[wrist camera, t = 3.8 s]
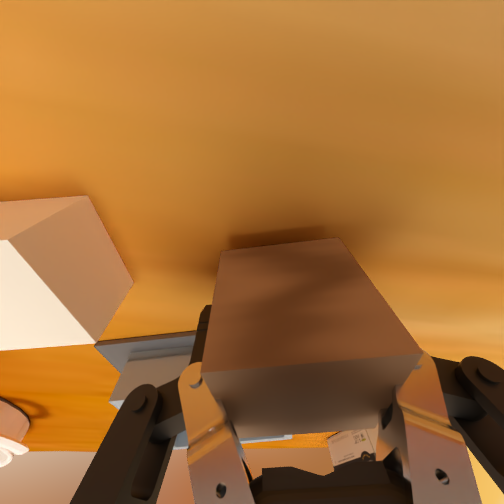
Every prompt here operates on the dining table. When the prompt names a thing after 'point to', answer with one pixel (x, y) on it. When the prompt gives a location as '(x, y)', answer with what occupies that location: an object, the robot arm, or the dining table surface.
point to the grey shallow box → (154, 368)
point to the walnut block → (302, 341)
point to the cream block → (56, 273)
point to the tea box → (353, 447)
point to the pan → (12, 431)
